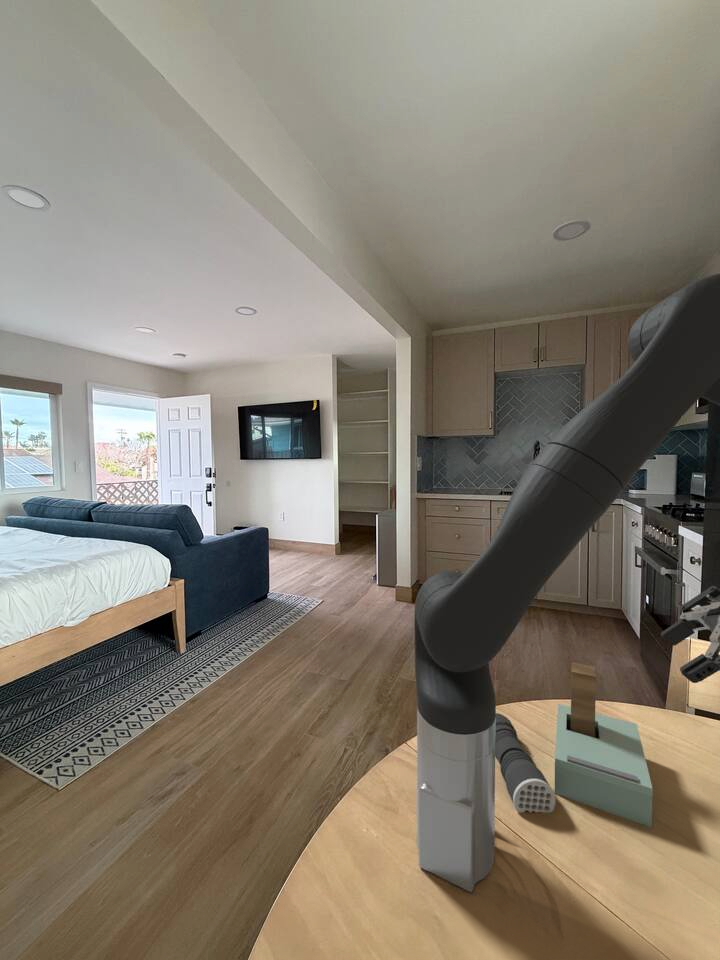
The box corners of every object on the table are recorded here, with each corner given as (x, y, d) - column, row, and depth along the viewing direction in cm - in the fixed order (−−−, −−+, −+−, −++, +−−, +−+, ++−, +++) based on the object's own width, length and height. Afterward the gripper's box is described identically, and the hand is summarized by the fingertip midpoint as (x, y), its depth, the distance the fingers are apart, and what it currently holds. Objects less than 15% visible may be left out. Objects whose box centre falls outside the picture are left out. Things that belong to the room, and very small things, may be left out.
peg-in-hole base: (651, 834, 50) (652, 786, 50) (554, 800, 55) (555, 756, 55) (635, 760, 62) (636, 721, 62) (557, 738, 67) (558, 702, 67)
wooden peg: (594, 767, 60) (595, 676, 59) (570, 760, 61) (571, 671, 60) (593, 753, 62) (594, 666, 62) (570, 746, 64) (571, 662, 63)
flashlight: (478, 740, 67) (478, 709, 67) (510, 739, 67) (510, 708, 67) (514, 821, 52) (514, 781, 52) (555, 820, 52) (555, 781, 52)
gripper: (733, 546, 57) (640, 613, 64) (792, 590, 44) (668, 669, 51) (781, 582, 56) (681, 647, 62) (856, 638, 43) (720, 713, 49)
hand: (675, 657), depth 56 cm, fingers open, 8 cm apart
